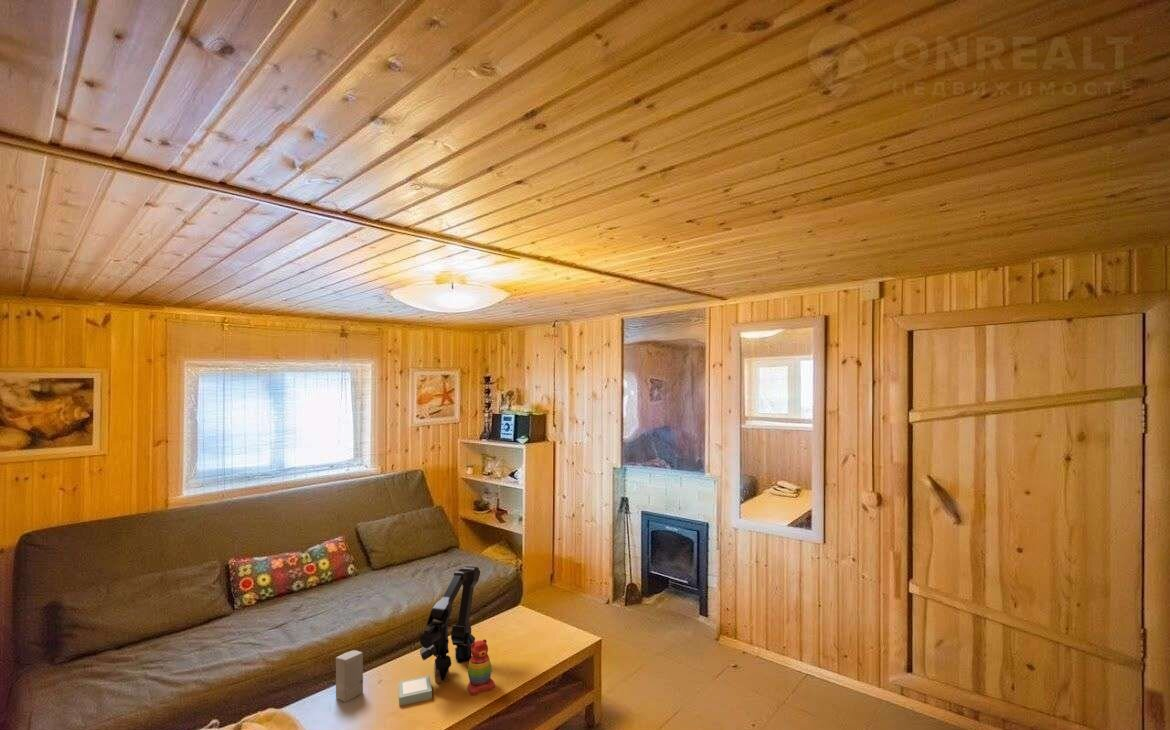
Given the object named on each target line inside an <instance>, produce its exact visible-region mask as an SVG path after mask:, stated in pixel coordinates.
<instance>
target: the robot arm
mask: <svg viewBox="0 0 1170 730" xmlns="http://www.w3.org/2000/svg"><path fill="white" fill-rule="evenodd" d="M480 575H481V570H480V569H479V567H478V566H471V565H464V566H463V567H462V568H459V569H458V570H456V571H454V573H453V577H452V579H451V580H450V583H449V585H448V586H447V587H446V588H447V589H446V591H445V592H444V594H443V595H442V598H441V599H439V600H438V601H437V602H436V603H435V604H434V606H433V607H432V608H431V610H430V613H429V616H428V619H427V622H426V627H428V628H426V629H424V631H423V633H422V635H421V636H420V638H419V643H420V645H421V646H422V648H420V649H419V655H420V656H421V659H422V661H425V660H427V659H428V658H431V657H432V656H433V657H436V658H435V659H434V663H435V669H438V670H439V672H440V677H441V681H442V682H444V681H443V680H444V679H445V676H446V674H447V672H448V669H449V670H450V667H451V666H452V659H451V657H450V656H449V653H450V652H449V623H451V619H450V617H451V614H452V611H453V603H454V602H455V599H456V597H457V595H458V593H459V592H460V590H461V587H462V592H461V598H460V604H459V611H458V616H457V622H456V623H455V624H453V625H452V626H451V627H452V629H451V633H450V639H451V642H452V643H451V644H452V645H453V646H455V648H454V652H455V653H454V656H455V657H454V658H455V660H456V662H457V663H464V662H468V661H470V659H471V657H472V656H473V655H472V653H471V645H472V643H475V642H476V637H475V636H474V635H473V634H472V626H471V624H470V616H471V609H472V603H473V596H474V595H473V594H474V589H475V586H476V585H477V583H478V582H479V580H480ZM447 654H448V655H447Z"/></svg>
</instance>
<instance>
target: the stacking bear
mask: <svg viewBox="0 0 1170 730" xmlns="http://www.w3.org/2000/svg"><path fill="white" fill-rule="evenodd" d="M488 651H489V647H488V644H487V640H486V639H482V640H475V643H472V645H471V656H472V657H471V659H470V660H469V662H468V666H467V676H468V679H469V680H468V681H469V682H468V686H467V692H468V694H469V695H471V696H475V695H478V694H480V693H482V692H486V691H494V690H495V688H496V683H495V681H494V680H493V679H492V678H491V675H492V662H491V659H490V656H489V653H488Z"/></svg>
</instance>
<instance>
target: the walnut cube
mask: <svg viewBox="0 0 1170 730" xmlns="http://www.w3.org/2000/svg"><path fill="white" fill-rule="evenodd" d="M433 678H434V682H435V684H436V683H441V682H446V680H447V681H449V680H450V668H449V669H448V672H447V674H446V676H445V679H444V680H443V681H441V677H440V672H439V670H438V669H435V662H434V663H433Z"/></svg>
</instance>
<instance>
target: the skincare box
mask: <svg viewBox="0 0 1170 730" xmlns="http://www.w3.org/2000/svg"><path fill="white" fill-rule="evenodd" d="M363 655H364V653H363V651H359V650H355V649H352V650H350V651H347V652H344V653H342V654H341V655H338V656H336V657H335V698H336V699H338V700H340V701H342V702H344V703H348V702H349V701H351V700H353V699H354V698H356V697H357V696H358V697H359V695H362V694H363V693H364V658H363V657H364V656H363Z"/></svg>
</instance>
